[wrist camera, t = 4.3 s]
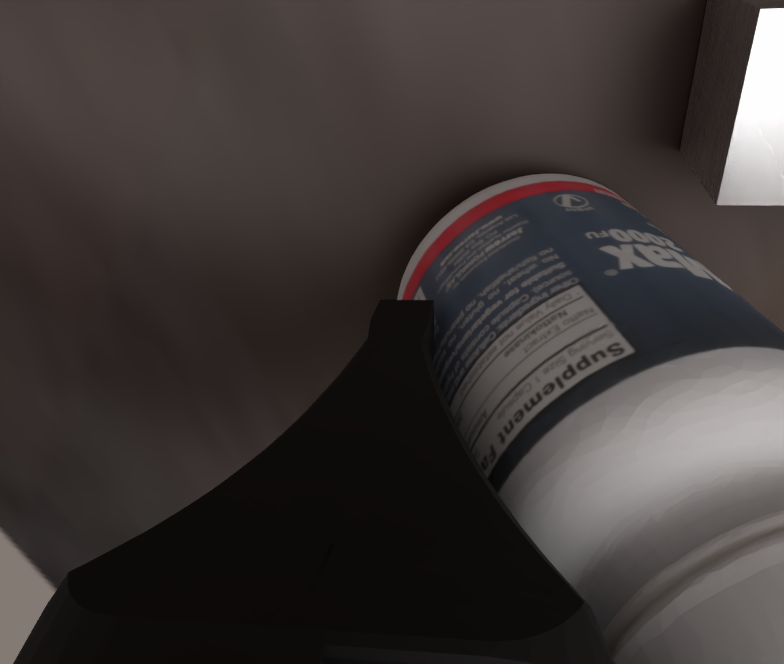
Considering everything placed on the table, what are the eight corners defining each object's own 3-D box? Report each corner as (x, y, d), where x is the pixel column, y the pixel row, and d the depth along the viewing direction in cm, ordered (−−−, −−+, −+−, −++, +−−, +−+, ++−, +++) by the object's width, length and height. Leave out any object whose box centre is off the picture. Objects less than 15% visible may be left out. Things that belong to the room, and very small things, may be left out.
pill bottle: (690, 262, 14) (1161, 662, 7) (515, 428, 16) (759, 888, 9) (525, 105, 12) (1010, 491, 5) (336, 323, 13) (477, 857, 6)
